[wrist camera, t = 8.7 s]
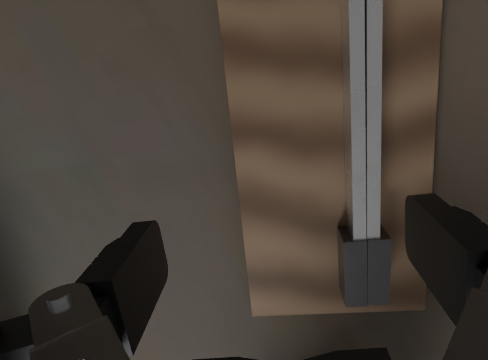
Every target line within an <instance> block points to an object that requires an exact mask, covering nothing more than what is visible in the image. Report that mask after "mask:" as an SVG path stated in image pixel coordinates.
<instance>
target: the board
mask: <svg viewBox="0 0 488 360" xmlns="http://www.w3.org/2000/svg"><path fill="white" fill-rule="evenodd" d="M217 4H218V13H219V22H220V31H221V40H222V49H223V58H224V67H225V76H226V85H227V94H228V103H229V112H230V121H231V130H232V139H233V148H234V157H235V166H236V175H237V184H238V193H239V202H240V211H241V220H242V229H243V238H244V247H245V256H246V265H247V274H248V283H249V292H250V301H251V310H252V316H277V315H304V314H332V313H360V312H387V311H415V310H426V293H427V285H426V283H425V282H424V280H423V279H422V278H421V276H420V275H419V273H418V272H417V271H416V269H415V268H414V266H413V265H412V263H411V262H410V260H409V258H408V255H407V252H406V247H405V201H406V197H407V196H408V195H417V194H427V193H432V185H433V167H434V149H435V131H436V113H437V95H438V77H439V59H440V41H441V23H442V5H443V0H383V26H382V114H381V203H380V223H381V225H382V226H383V228H384V229H385V230H386V232H387V233H388V235H389V236H390V238H391V280H390V305H367V306H362V307H345V304H344V301H343V298H342V294H341V291H340V288H339V267H338V237H337V226H347V223H346V183H345V143H344V104H343V64H342V24H341V0H217Z"/></svg>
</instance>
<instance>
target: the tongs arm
mask: <svg viewBox="0 0 488 360" xmlns="http://www.w3.org/2000/svg"><path fill="white" fill-rule="evenodd" d="M341 24H342V64H343V104H344V143H345V183H346V223H347V226H337V237H338V267H339V288H340V291H341V294H342V298H343V301H344V304H345V307H362V306H367V240H366V127H365V0H341Z"/></svg>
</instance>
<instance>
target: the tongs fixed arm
mask: <svg viewBox="0 0 488 360" xmlns="http://www.w3.org/2000/svg"><path fill="white" fill-rule="evenodd" d="M382 26H383V0H365V127H366V240H367V305H390V280H391V238H390V236H389V235H388V233H387V232H386V230H385V229H384V228H383V226H382V225H381V223H380V203H381V114H382Z"/></svg>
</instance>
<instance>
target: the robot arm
mask: <svg viewBox="0 0 488 360" xmlns="http://www.w3.org/2000/svg"><path fill="white" fill-rule="evenodd" d="M405 247H406V252H407V255H408V258H409V260H410V262H411V263H412V265H413V266H414V268H415V269H416V271H417V272H418V273H419V275H420V276H421V278H422V279H423V280H424V282H425V283H426V285H427V286H428V288H429V289H430V290H431V292H432V293H433V295H434V296H435V297H436V299H437V300H438V302H439V303H440V305H441V306H442V307H443V309H444V310H445V312H446V313H447V315H448V316H449V317H450V319H451V320H452V322H453V323H454V324H455V326H456V328H455V331H454V333H453V336H452V338H451V341H450V343H449V345H448V348H447V350H446V353H445V355H444V358H443V360H488V225H487V224H485V223H484V222H481V220H480V219H479V218H477V217H476V216H475V215H473V214H472V213H471V212H468V211H465V210H463V209H460V208H458V207H455V206H452V207H451V206H450V205H448V204H447V203H446V202H445V201H443V200H442V199H441V198H440V197H438V196H437V195H436V194H435V193H427V194H417V195H408V196H407V197H406V201H405ZM167 276H168V264H167V259H166V254H165V250H164V246H163V241H162V237H161V232H160V228H159V225H158V223H157V221H155V220H153V221H143V222H133V223H132V224H131V225H130V226H129V227H128V229H127V230H126V231H125V232H124V234H123V235H122V236H121V237H120V238H117V239H116V240H114V241H113V242H111V243H110V244H108V245H107V246H105V248H104V249H103V250H102V251H101V252H100V253H99V255H98V257H96V258H95V259H94V261H93V262H92V264H91V265H89V266H88V268H87V269H86V270H85V271H84V272H83V274H82V275H81V276H80V277H79V278H78V279H77V281H76V282H75V283H71V284H66V285H62V286H59V287H56V288H54V289H51V290H49V291H47V292H46V293H44V294H42V295H41V296H39V297H38V298H37V299H36V300H35V301H34V302H33V303H32V304H31V305H30V307H29V311H28V313H29V314H27V315H23V316H20V317H16V318H12V319H9V320H5V321H1V322H0V360H130V358H129V357H128V356H133V355H134V353H135V351H136V348H137V346H138V344H139V342H140V339H141V337H142V335H143V333H144V330H145V328H146V326H147V324H148V321H149V319H150V317H151V315H152V312H153V310H154V308H155V306H156V303H157V301H158V299H159V297H160V294H161V292H162V290H163V288H164V285H165V283H166V281H167ZM194 360H255V359H249V358H242V357H226V358H210V359H194ZM304 360H391V358H390V356H389V353H388V351H387V348H371V349H355V350H339V351H333V352H330V353H326V354H323V355H319V356H315V357H312V358H308V359H304Z"/></svg>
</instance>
